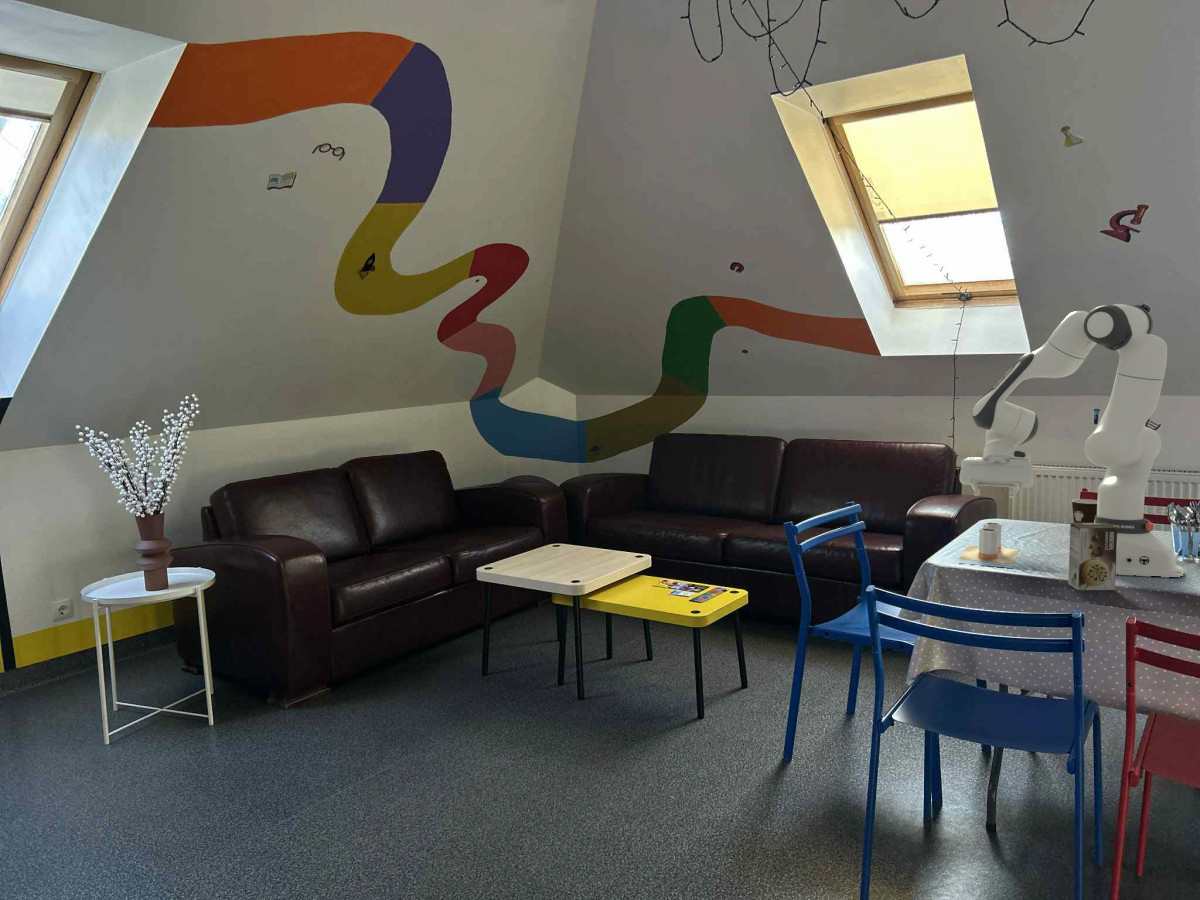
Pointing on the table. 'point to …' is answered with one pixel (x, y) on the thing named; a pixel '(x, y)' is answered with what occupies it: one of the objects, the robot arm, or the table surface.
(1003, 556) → the pin board
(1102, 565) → the coffee box
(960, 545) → the table surface
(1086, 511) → the coffee mug
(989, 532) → the steel sleeve
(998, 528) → the sleeve
